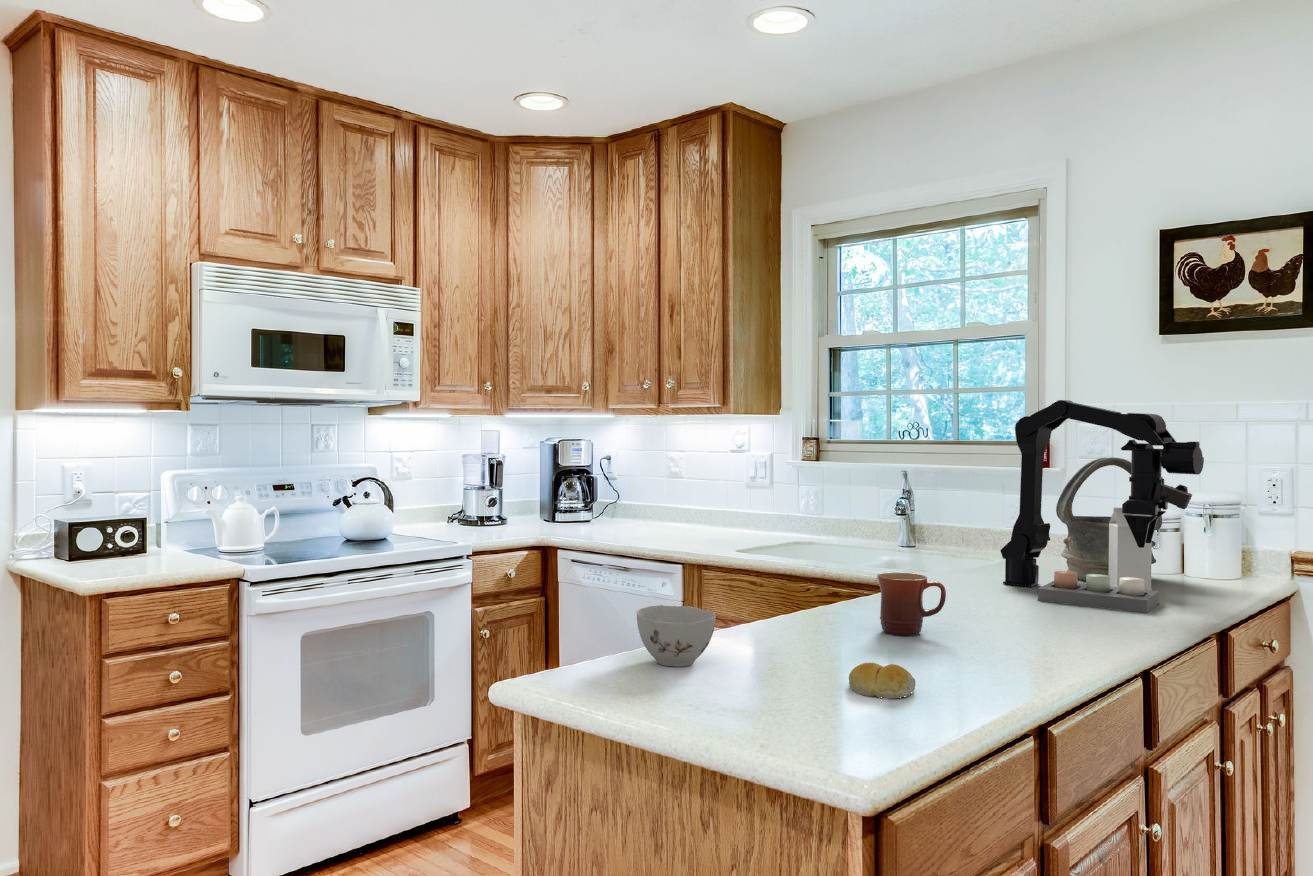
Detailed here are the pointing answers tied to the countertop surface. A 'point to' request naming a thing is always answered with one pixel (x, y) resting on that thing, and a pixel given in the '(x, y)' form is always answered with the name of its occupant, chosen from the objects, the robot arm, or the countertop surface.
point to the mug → (905, 602)
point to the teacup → (675, 633)
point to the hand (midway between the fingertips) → (1144, 545)
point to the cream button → (1131, 586)
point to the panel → (1099, 598)
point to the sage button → (1098, 582)
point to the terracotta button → (1065, 579)
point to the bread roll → (881, 680)
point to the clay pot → (1088, 526)
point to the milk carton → (1127, 553)
